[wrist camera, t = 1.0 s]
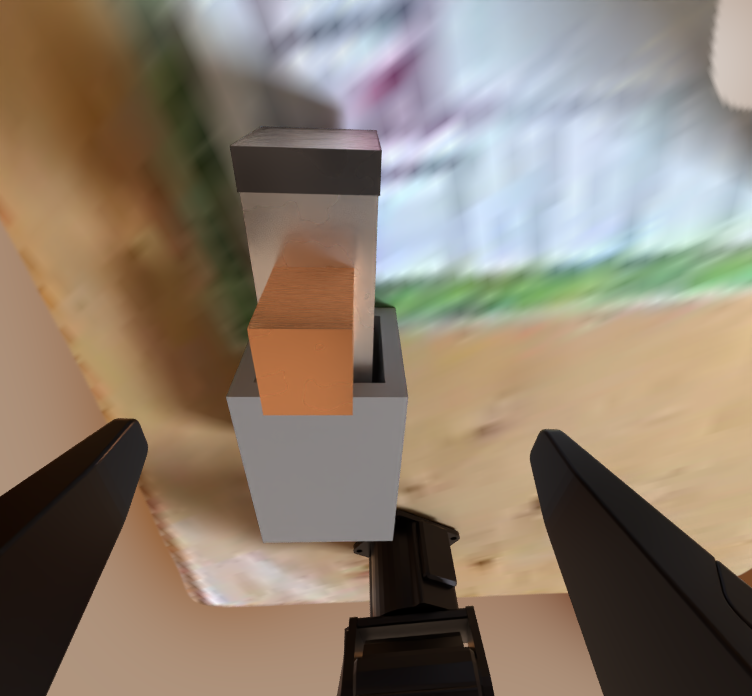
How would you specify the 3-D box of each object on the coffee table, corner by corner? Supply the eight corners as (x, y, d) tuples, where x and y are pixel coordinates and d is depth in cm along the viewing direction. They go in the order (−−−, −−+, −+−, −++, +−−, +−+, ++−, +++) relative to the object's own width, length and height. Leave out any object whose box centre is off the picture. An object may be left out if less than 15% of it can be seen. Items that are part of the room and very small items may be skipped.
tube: (366, 457, 25) (369, 591, 18) (300, 457, 24) (280, 593, 18) (376, 130, 14) (389, 182, 8) (261, 126, 14) (179, 176, 8)
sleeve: (385, 441, 26) (392, 540, 20) (283, 441, 25) (263, 542, 20) (395, 307, 20) (408, 397, 15) (262, 306, 20) (225, 397, 14)
